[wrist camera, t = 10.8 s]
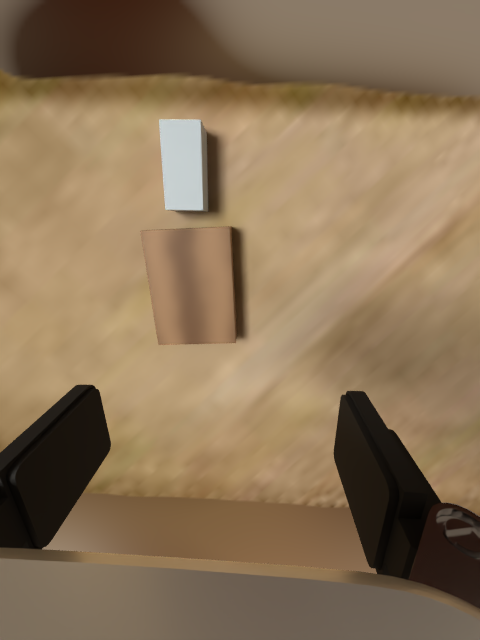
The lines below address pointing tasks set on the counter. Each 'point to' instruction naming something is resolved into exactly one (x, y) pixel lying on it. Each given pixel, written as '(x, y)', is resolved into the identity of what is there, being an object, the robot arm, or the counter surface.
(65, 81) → the counter surface
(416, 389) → the counter surface
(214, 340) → the brown box
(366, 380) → the counter surface
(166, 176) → the block
